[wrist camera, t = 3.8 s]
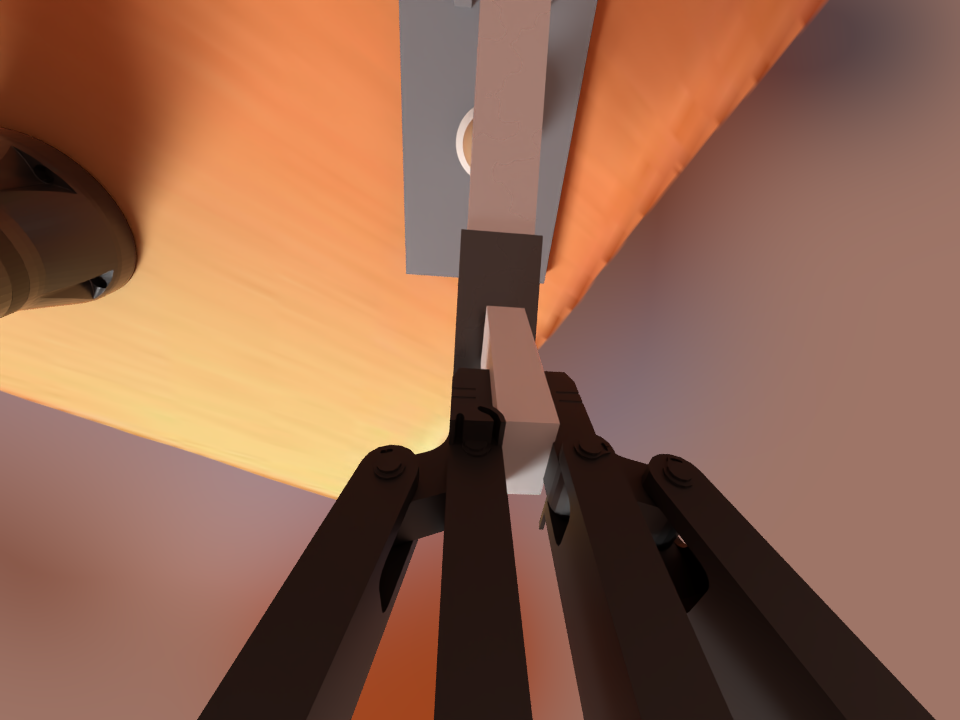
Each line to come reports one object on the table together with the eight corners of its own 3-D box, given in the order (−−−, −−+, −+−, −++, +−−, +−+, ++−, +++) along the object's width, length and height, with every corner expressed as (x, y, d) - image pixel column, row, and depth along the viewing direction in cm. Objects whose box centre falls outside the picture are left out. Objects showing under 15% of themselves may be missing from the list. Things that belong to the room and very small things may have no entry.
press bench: (408, 267, 38) (383, 331, 26) (400, -118, 24) (337, -347, 12) (540, 276, 39) (572, 342, 27) (606, -88, 25) (730, -272, 13)
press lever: (452, 379, 19) (452, 388, 16) (478, -97, 17) (483, -185, 14) (519, 382, 20) (531, 392, 17) (552, -86, 18) (572, -170, 15)
